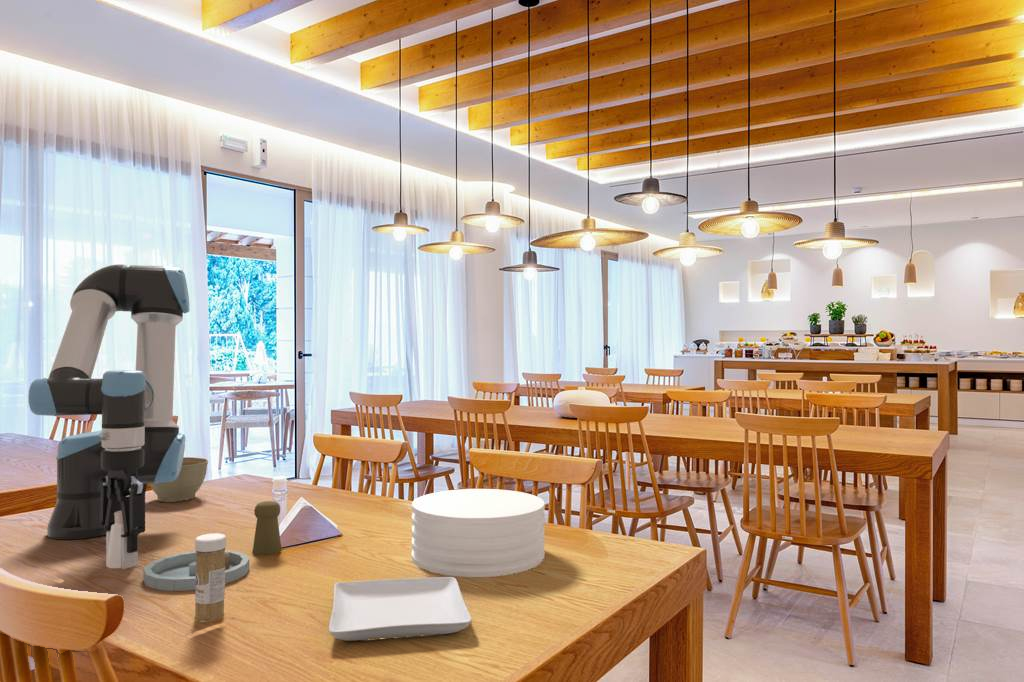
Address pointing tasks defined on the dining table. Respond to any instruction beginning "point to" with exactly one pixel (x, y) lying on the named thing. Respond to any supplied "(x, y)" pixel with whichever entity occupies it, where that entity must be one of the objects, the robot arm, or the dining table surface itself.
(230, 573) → the groove tray
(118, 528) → the pepper shaker
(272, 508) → the pepper shaker
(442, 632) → the salad plate
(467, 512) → the plate stack
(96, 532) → the robot arm
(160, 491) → the planter bowl
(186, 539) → the dining table surface
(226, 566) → the bead walnut
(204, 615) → the sprinkles bottle
